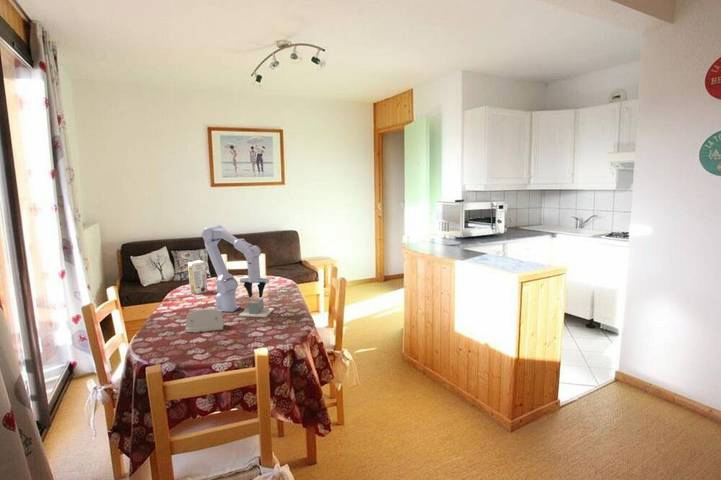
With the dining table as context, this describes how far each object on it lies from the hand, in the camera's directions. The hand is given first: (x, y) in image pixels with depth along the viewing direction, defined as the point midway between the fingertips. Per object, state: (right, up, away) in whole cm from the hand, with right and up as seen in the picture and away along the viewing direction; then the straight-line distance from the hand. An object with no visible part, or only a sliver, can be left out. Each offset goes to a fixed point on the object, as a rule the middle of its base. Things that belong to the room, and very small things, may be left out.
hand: (255, 296), depth 204 cm
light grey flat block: (-19, -12, -17) cm, 28 cm away
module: (0, -8, +1) cm, 8 cm away
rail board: (0, -8, +1) cm, 8 cm away
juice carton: (-45, -3, +41) cm, 61 cm away
